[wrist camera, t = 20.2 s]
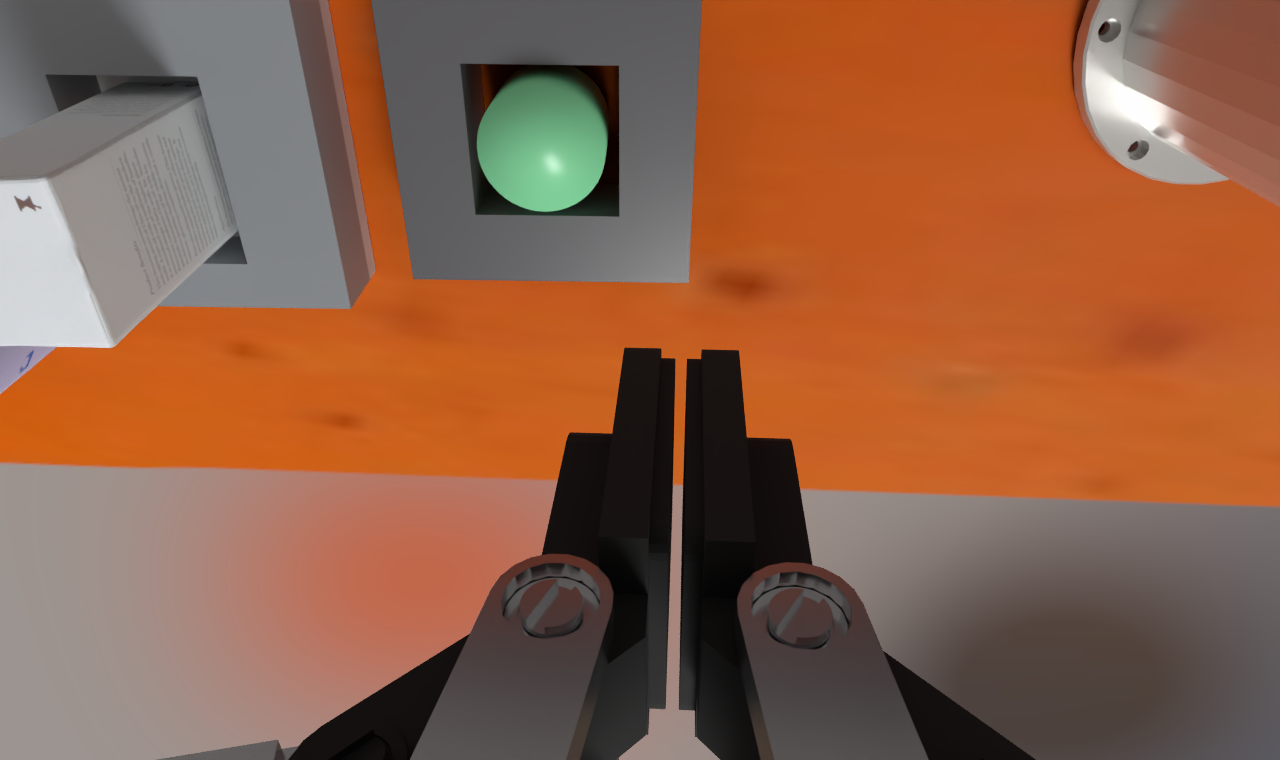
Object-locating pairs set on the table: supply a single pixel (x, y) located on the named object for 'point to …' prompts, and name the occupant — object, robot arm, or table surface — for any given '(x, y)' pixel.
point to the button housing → (454, 106)
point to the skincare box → (107, 213)
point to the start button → (545, 137)
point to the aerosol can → (18, 362)
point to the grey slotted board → (221, 127)
